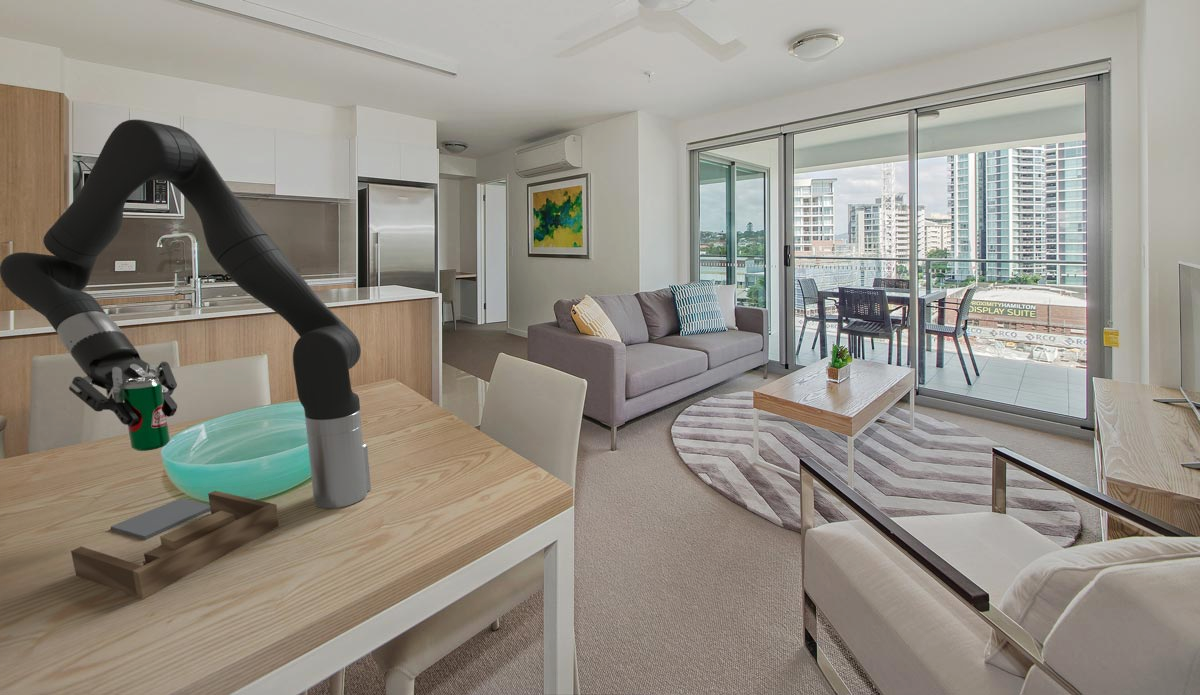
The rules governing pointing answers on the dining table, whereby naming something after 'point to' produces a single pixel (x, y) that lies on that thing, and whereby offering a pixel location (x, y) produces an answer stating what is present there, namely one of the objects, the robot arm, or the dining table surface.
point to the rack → (180, 550)
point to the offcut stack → (189, 534)
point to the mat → (161, 518)
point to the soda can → (146, 413)
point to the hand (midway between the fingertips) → (154, 418)
